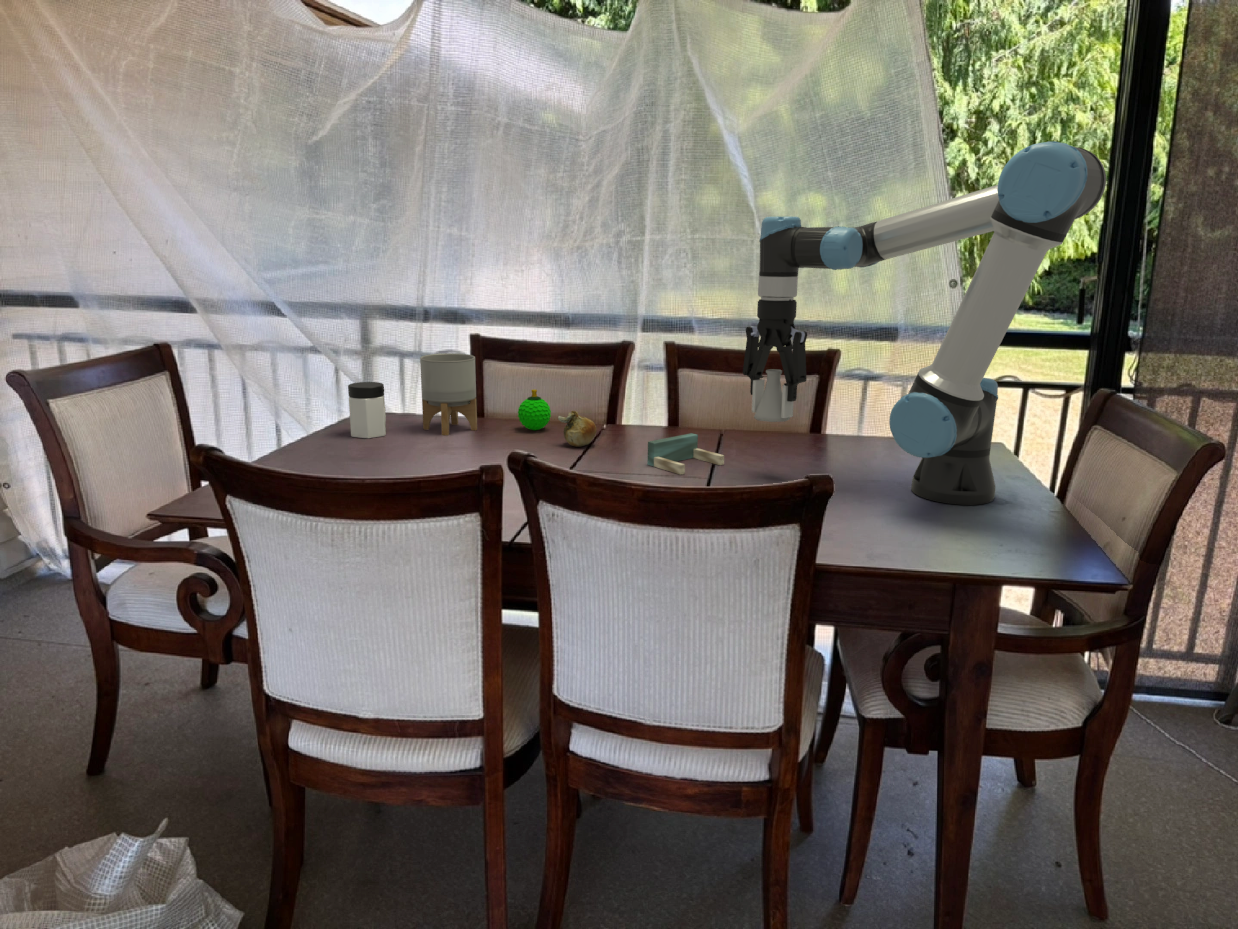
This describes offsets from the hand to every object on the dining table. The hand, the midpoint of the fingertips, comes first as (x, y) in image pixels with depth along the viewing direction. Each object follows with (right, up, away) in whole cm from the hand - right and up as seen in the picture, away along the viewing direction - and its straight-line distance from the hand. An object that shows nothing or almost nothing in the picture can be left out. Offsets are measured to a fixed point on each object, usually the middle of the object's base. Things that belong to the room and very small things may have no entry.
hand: (772, 414), depth 180 cm
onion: (-40, -6, +25) cm, 48 cm away
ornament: (-52, -2, +40) cm, 65 cm away
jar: (-90, -3, +33) cm, 96 cm away
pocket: (-17, -10, +10) cm, 22 cm away
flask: (0, -1, 0) cm, 1 cm away
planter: (-72, -2, +39) cm, 82 cm away
